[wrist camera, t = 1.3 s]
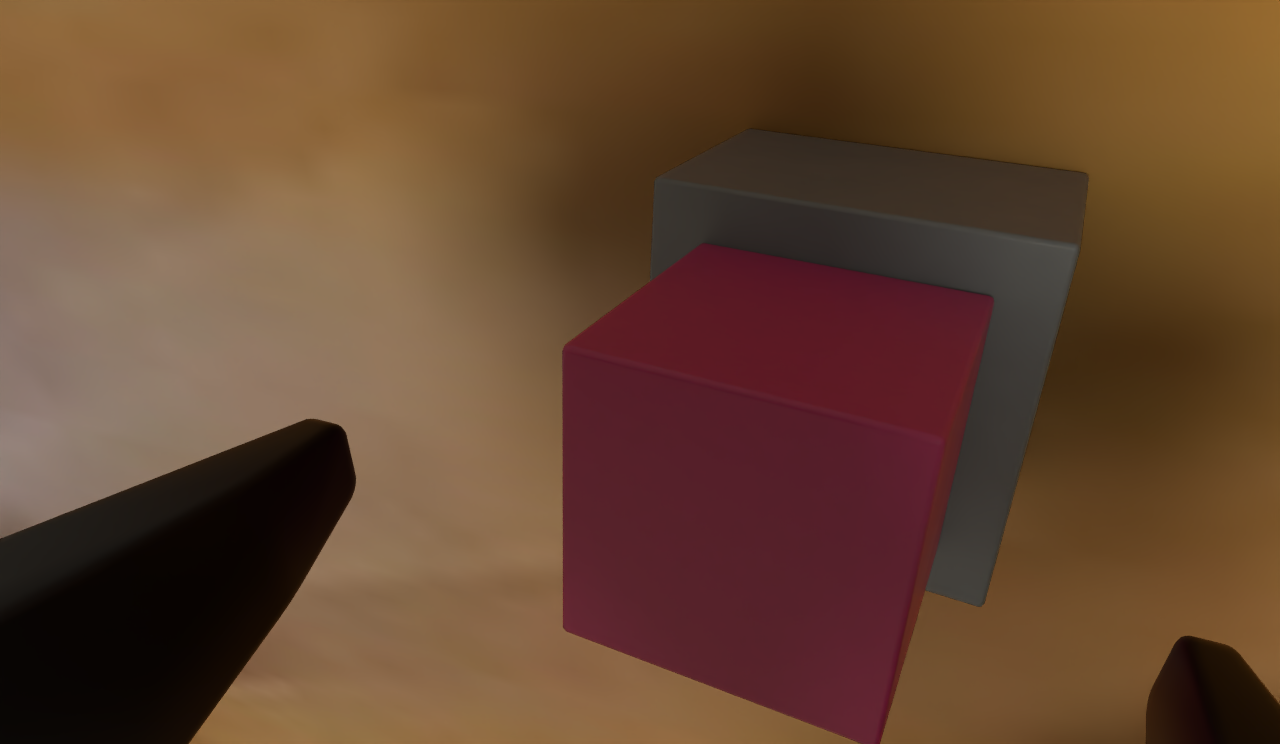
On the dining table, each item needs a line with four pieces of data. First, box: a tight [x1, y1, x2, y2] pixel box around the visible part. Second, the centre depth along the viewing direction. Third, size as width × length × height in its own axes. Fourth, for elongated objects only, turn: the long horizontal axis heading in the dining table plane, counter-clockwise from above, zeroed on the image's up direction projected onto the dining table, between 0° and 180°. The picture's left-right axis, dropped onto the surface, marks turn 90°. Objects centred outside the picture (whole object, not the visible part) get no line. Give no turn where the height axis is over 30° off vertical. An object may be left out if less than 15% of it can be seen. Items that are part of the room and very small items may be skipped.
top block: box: [562, 243, 994, 744], centre depth 14 cm, size 5×5×5 cm
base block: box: [650, 129, 1089, 607], centre depth 18 cm, size 7×7×5 cm
